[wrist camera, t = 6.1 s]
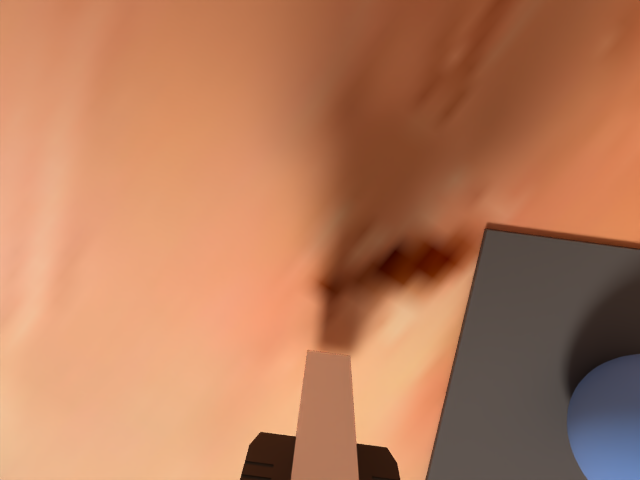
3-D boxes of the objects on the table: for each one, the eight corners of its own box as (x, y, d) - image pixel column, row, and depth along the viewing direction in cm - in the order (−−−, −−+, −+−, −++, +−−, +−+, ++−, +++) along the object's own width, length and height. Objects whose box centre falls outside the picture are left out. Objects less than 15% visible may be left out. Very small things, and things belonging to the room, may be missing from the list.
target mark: (421, 497, 18) (422, 501, 18) (485, 228, 15) (486, 230, 15) (697, 533, 18) (701, 538, 18) (818, 273, 15) (824, 274, 15)
